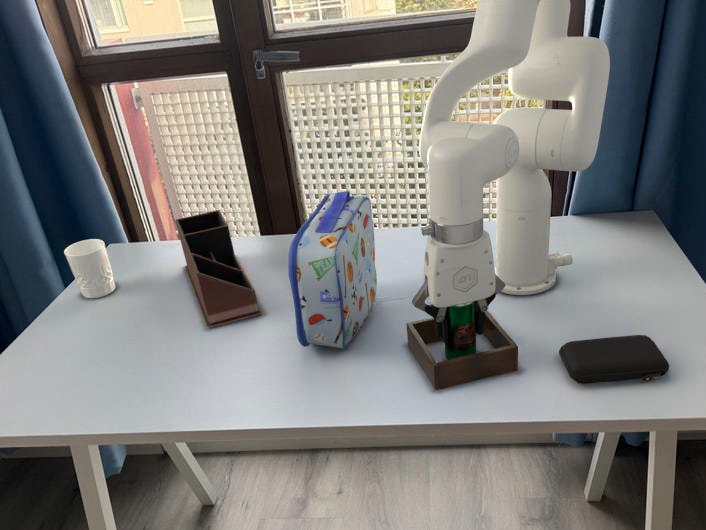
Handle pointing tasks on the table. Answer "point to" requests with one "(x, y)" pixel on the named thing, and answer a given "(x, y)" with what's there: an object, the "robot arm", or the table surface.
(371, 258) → the lunch box
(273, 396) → the table surface
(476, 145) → the robot arm
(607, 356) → the carrying case
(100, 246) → the white cup
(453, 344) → the soda can
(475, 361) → the crate
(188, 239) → the desk organizer
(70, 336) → the table surface
